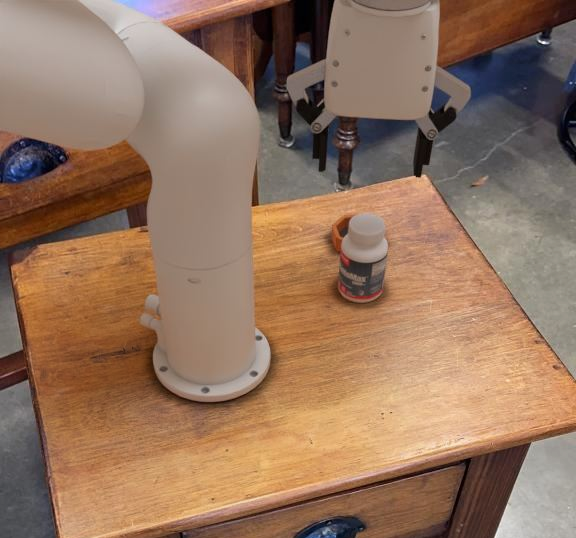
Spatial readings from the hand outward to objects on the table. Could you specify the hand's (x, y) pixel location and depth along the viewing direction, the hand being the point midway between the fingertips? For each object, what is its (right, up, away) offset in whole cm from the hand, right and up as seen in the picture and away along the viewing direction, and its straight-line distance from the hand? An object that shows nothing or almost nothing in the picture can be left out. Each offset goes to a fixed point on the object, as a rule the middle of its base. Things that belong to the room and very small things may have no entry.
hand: (369, 167), depth 84 cm
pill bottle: (0, -9, +13) cm, 16 cm away
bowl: (0, -2, +18) cm, 18 cm away
